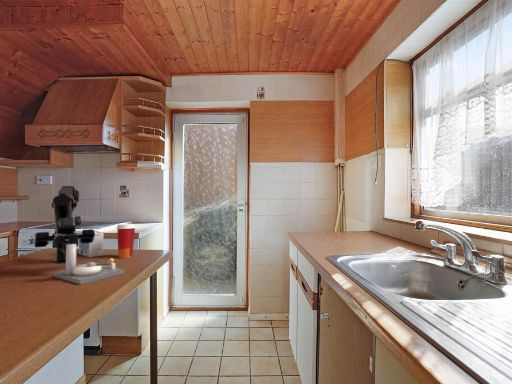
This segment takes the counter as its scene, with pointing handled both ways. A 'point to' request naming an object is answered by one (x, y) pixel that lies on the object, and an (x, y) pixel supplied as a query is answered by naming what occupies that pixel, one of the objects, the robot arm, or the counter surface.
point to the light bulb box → (92, 246)
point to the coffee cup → (125, 240)
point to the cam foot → (83, 268)
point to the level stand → (105, 273)
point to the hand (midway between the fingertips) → (68, 256)
